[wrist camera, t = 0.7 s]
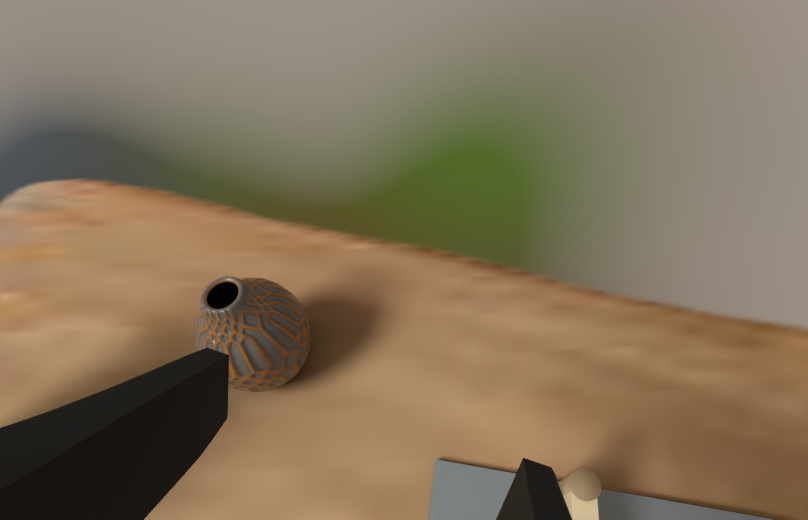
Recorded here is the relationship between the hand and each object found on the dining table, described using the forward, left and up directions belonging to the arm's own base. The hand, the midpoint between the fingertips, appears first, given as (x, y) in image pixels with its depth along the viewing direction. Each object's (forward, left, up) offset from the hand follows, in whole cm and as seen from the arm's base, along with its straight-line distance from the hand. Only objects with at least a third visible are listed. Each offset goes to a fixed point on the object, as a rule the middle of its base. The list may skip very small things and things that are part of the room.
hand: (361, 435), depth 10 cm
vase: (+8, +11, -18) cm, 23 cm away
